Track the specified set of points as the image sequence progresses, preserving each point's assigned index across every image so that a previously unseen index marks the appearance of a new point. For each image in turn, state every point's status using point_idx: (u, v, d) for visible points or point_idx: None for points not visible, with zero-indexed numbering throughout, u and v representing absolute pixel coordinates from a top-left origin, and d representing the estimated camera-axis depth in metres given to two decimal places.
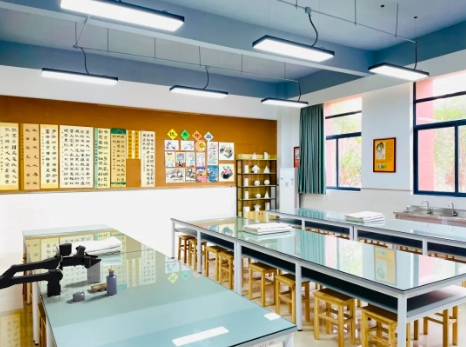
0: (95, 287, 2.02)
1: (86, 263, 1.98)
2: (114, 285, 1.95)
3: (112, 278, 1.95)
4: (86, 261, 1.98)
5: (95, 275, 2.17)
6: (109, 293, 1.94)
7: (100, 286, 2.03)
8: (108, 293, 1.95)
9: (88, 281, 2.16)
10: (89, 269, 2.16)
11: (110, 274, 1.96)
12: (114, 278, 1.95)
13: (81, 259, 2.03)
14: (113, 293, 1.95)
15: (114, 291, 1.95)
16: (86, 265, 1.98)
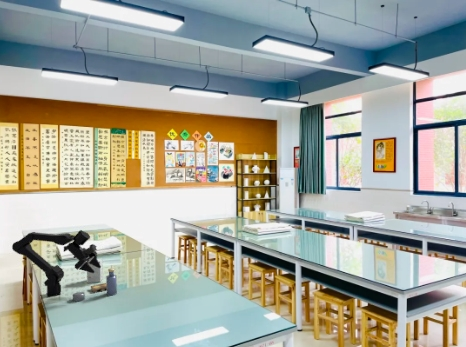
0: (95, 287, 2.02)
1: (78, 263, 1.87)
2: (114, 285, 1.95)
3: (112, 278, 1.95)
4: (79, 262, 1.87)
5: (95, 275, 2.17)
6: (109, 293, 1.94)
7: (100, 286, 2.03)
8: (108, 293, 1.95)
9: (88, 281, 2.16)
10: None
11: (110, 274, 1.96)
12: (114, 278, 1.95)
13: (82, 257, 1.94)
14: (113, 293, 1.95)
15: (114, 291, 1.95)
16: (76, 265, 1.87)
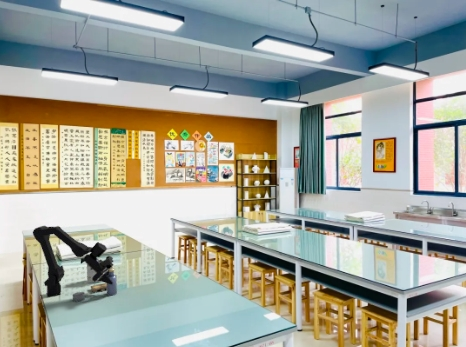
0: (95, 287, 2.02)
1: (95, 275, 1.87)
2: (114, 285, 1.95)
3: (112, 278, 1.95)
4: (97, 274, 1.88)
5: None
6: (109, 293, 1.94)
7: (100, 286, 2.03)
8: (108, 293, 1.95)
9: (88, 281, 2.16)
10: (89, 269, 2.16)
11: (110, 274, 1.96)
12: (114, 278, 1.95)
13: (99, 269, 1.94)
14: (113, 293, 1.95)
15: (114, 291, 1.95)
16: (94, 277, 1.88)
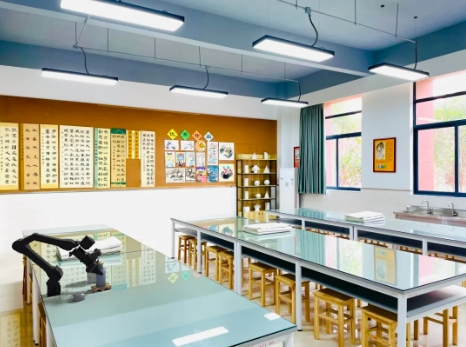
0: (95, 287, 2.02)
1: (89, 267, 1.94)
2: (104, 277, 2.03)
3: (102, 270, 2.02)
4: (91, 265, 1.94)
5: (95, 275, 2.17)
6: (99, 285, 2.02)
7: None
8: (98, 285, 2.02)
9: (88, 281, 2.16)
10: None
11: (100, 267, 2.03)
12: (104, 270, 2.03)
13: (89, 261, 2.00)
14: (104, 285, 2.03)
15: (104, 283, 2.03)
16: (88, 268, 1.93)
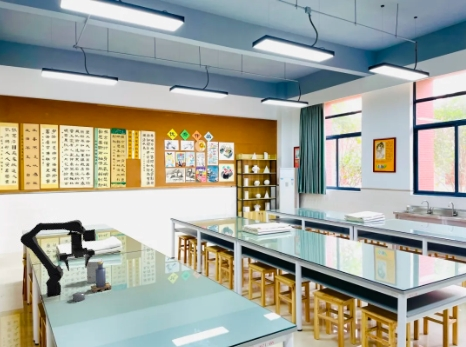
0: (95, 287, 2.02)
1: (58, 256, 1.95)
2: (104, 277, 2.03)
3: (102, 270, 2.02)
4: (59, 256, 1.94)
5: (95, 275, 2.17)
6: (99, 285, 2.02)
7: None
8: (98, 285, 2.02)
9: (88, 281, 2.16)
10: (89, 269, 2.16)
11: (100, 267, 2.03)
12: (104, 270, 2.03)
13: None
14: (104, 285, 2.03)
15: (104, 283, 2.03)
16: (58, 255, 1.96)
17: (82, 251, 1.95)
